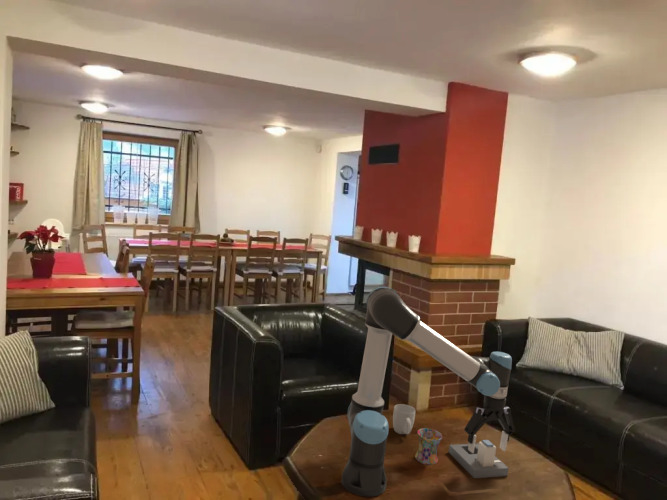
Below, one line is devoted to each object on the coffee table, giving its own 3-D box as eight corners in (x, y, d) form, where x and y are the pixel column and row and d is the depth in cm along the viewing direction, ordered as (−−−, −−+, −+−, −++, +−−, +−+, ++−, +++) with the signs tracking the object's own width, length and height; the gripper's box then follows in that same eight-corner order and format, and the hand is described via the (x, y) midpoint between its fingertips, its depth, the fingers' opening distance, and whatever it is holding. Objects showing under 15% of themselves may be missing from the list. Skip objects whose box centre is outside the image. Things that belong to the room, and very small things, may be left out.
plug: (481, 473, 187) (486, 445, 186) (475, 467, 191) (479, 439, 190) (492, 473, 189) (496, 445, 187) (485, 466, 193) (489, 439, 191)
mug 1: (388, 425, 220) (391, 403, 219) (409, 426, 221) (412, 404, 220) (396, 440, 207) (399, 416, 206) (418, 441, 209) (421, 417, 208)
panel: (473, 480, 184) (475, 469, 183) (448, 454, 201) (449, 444, 200) (507, 478, 188) (508, 467, 187) (479, 452, 205) (480, 442, 204)
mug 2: (441, 468, 190) (445, 441, 188) (416, 466, 189) (420, 439, 188) (433, 451, 202) (437, 426, 200) (410, 449, 201) (413, 423, 200)
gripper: (471, 400, 179) (462, 457, 182) (531, 398, 187) (521, 453, 189) (459, 391, 186) (451, 446, 189) (517, 390, 194) (509, 443, 196)
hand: (486, 450), depth 189 cm, fingers open, 13 cm apart
